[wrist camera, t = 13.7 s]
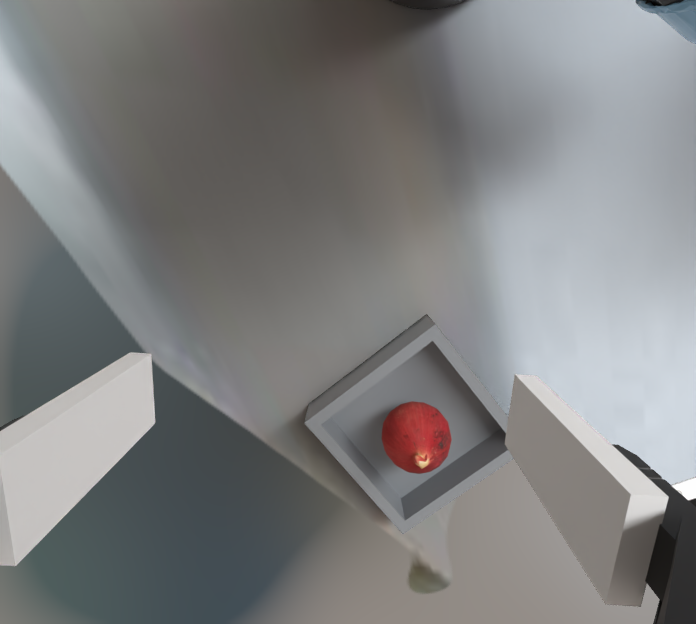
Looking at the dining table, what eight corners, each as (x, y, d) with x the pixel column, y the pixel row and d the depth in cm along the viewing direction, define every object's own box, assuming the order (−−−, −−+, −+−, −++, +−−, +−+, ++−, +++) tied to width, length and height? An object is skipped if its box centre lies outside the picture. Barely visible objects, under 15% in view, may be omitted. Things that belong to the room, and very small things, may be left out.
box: (426, 314, 38) (435, 324, 35) (513, 425, 41) (531, 446, 37) (308, 403, 40) (304, 423, 36) (398, 505, 42) (402, 534, 38)
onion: (433, 381, 39) (454, 420, 31) (447, 437, 40) (470, 488, 32) (372, 396, 39) (377, 439, 31) (387, 451, 40) (396, 505, 32)
